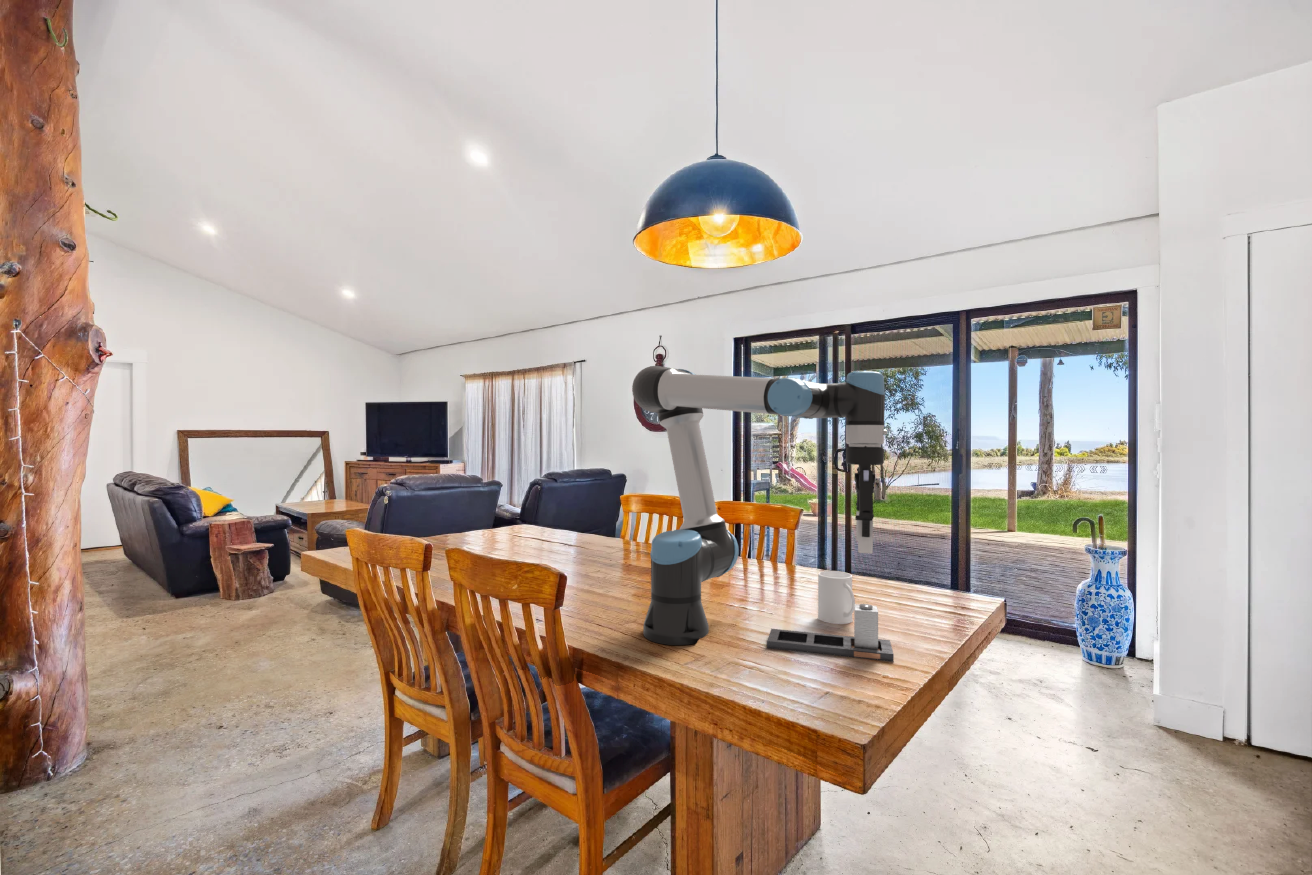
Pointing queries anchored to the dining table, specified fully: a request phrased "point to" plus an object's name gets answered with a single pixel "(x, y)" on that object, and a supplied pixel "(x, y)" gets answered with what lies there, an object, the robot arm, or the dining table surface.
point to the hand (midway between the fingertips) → (863, 547)
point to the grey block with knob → (865, 627)
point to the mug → (835, 597)
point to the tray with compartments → (827, 645)
